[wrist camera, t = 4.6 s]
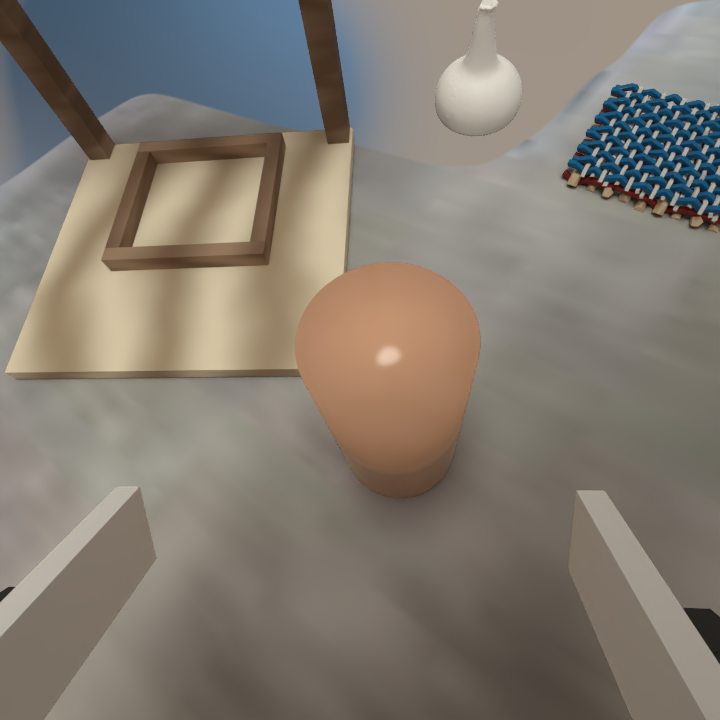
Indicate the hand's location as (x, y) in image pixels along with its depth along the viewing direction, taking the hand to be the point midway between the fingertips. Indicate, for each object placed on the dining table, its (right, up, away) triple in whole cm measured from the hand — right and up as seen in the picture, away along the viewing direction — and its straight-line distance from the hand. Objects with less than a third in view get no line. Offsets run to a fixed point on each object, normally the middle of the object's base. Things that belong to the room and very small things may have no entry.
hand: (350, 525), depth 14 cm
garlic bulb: (+9, +24, +23) cm, 34 cm away
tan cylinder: (+2, +1, +12) cm, 12 cm away
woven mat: (+21, +19, +19) cm, 34 cm away
